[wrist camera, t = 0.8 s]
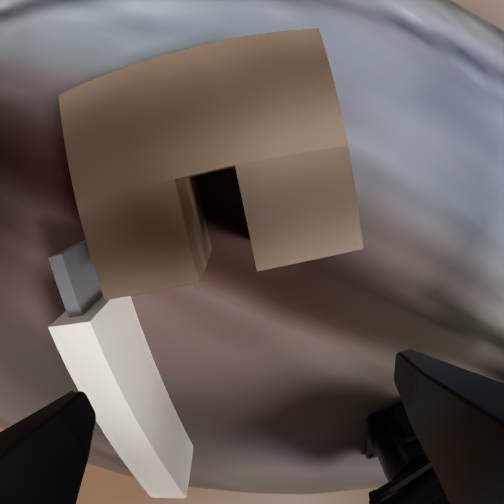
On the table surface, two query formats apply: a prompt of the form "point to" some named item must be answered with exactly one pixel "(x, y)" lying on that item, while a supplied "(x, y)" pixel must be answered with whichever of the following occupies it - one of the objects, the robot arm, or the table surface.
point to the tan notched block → (210, 158)
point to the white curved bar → (119, 376)
